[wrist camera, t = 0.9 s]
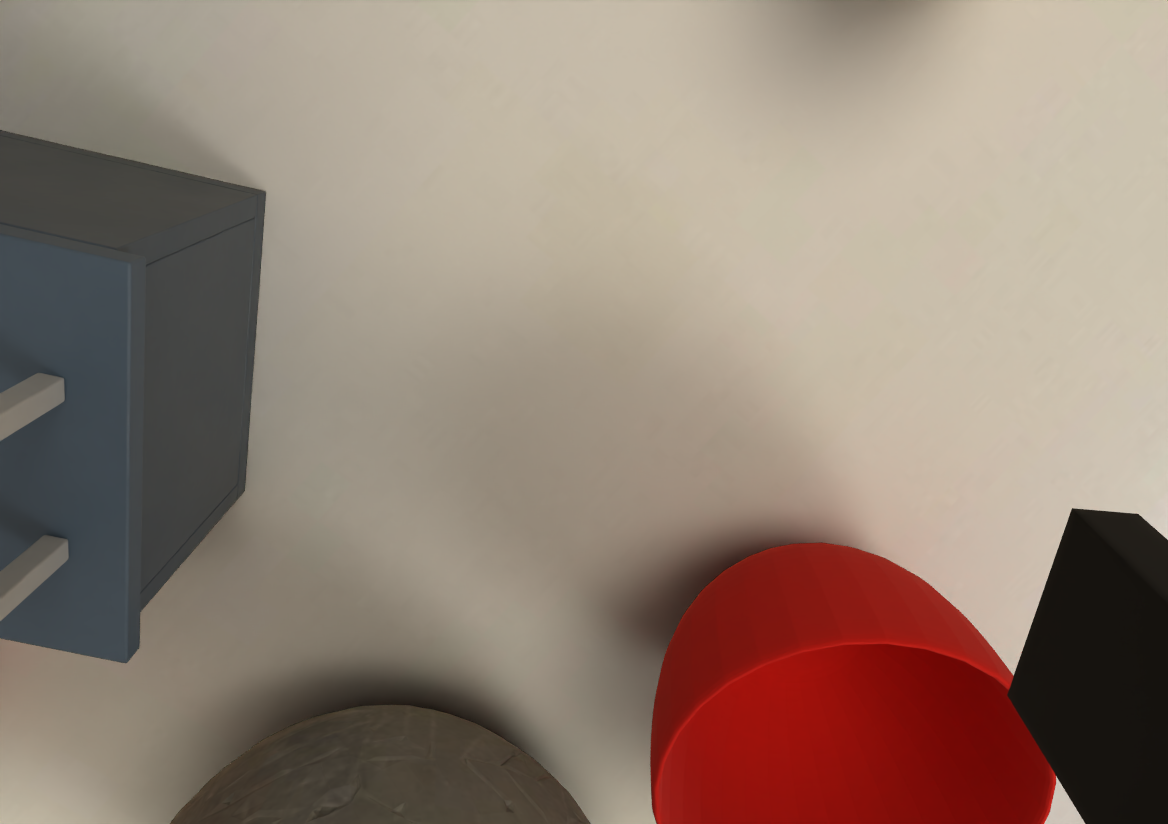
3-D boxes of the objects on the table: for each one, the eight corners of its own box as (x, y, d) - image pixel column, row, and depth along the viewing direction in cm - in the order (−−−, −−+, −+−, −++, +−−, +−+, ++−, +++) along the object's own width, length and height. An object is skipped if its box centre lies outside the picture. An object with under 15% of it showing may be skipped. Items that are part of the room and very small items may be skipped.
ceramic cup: (865, 808, 41) (937, 1027, 32) (583, 634, 37) (572, 823, 28) (1074, 635, 36) (1229, 832, 27) (777, 421, 33) (838, 562, 24)
